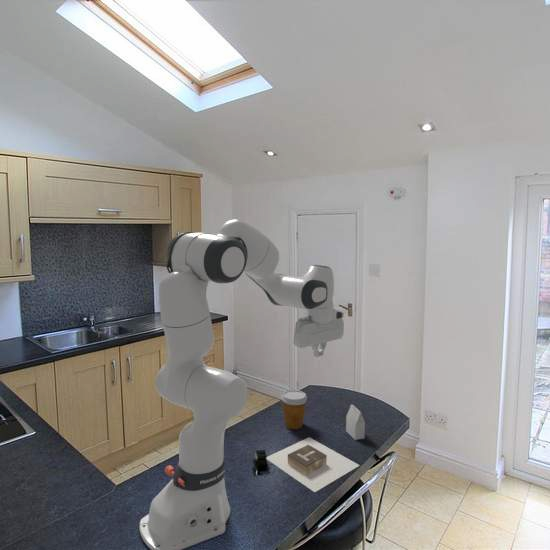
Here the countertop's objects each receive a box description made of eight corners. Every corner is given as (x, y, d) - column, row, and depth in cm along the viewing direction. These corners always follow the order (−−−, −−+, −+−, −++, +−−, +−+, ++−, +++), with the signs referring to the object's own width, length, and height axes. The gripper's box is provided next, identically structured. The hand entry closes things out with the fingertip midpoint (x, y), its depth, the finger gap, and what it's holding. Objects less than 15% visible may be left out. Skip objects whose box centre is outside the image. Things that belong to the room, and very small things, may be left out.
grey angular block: (355, 440, 141) (355, 413, 139) (345, 431, 147) (346, 404, 146) (364, 438, 142) (365, 411, 141) (355, 429, 148) (355, 403, 147)
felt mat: (314, 492, 113) (314, 492, 113) (264, 458, 129) (264, 457, 129) (359, 465, 126) (359, 465, 126) (309, 437, 142) (309, 437, 142)
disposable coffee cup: (311, 423, 152) (311, 393, 151) (298, 434, 144) (299, 402, 143) (289, 417, 158) (289, 387, 156) (276, 427, 150) (276, 396, 148)
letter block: (326, 464, 126) (305, 475, 120) (308, 453, 132) (287, 463, 126) (326, 455, 126) (306, 466, 120) (308, 444, 132) (287, 454, 126)
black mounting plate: (275, 478, 120) (276, 463, 120) (251, 480, 119) (251, 466, 118) (268, 455, 132) (268, 441, 132) (246, 457, 131) (246, 443, 130)
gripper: (303, 320, 123) (302, 364, 125) (347, 312, 136) (346, 352, 138) (289, 317, 128) (288, 359, 129) (333, 309, 141) (332, 348, 142)
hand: (318, 355), depth 134 cm, fingers closed
